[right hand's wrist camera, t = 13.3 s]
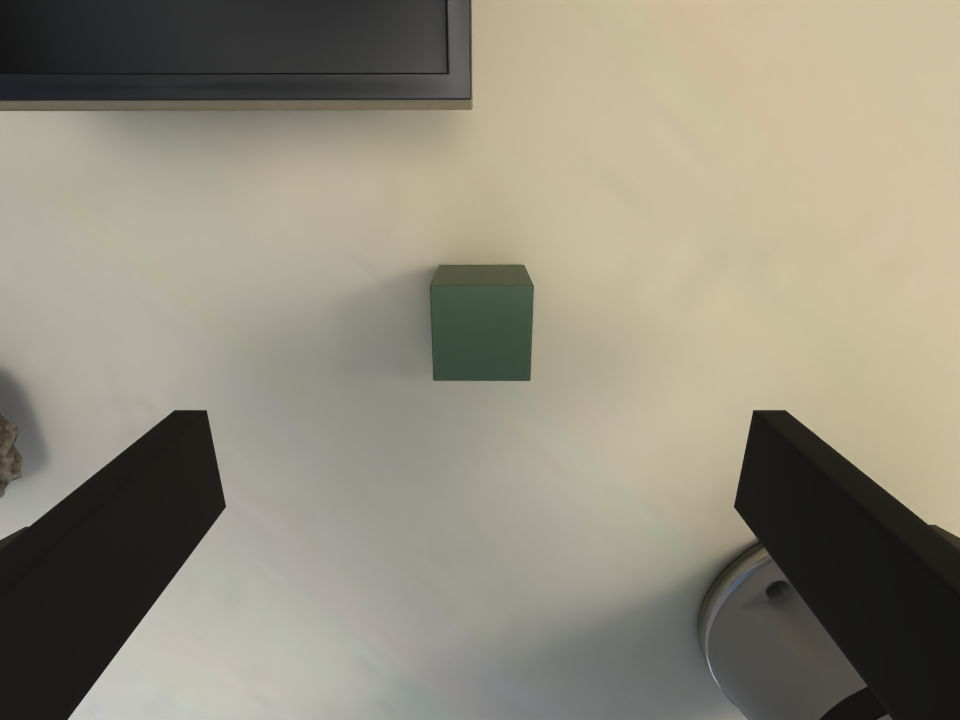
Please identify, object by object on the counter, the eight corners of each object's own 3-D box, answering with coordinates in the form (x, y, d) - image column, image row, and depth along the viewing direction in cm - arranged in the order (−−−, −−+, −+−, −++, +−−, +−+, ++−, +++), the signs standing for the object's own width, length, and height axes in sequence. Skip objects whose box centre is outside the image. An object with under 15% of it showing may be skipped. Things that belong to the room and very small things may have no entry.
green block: (524, 264, 27) (533, 285, 22) (522, 346, 28) (530, 381, 24) (438, 264, 27) (429, 285, 22) (441, 346, 28) (433, 381, 24)
